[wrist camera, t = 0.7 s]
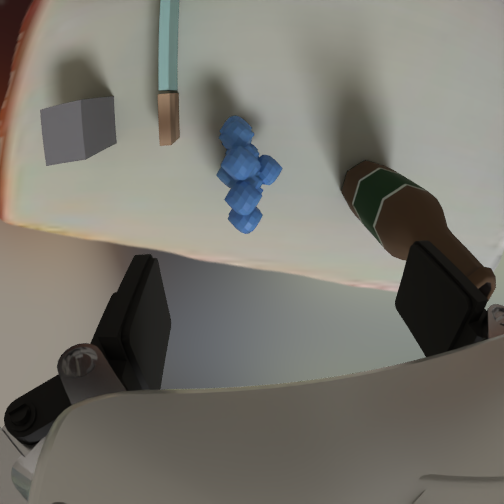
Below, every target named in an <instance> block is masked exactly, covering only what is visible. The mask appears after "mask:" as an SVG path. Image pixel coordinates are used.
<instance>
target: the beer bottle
mask: <svg viewBox="0 0 504 504" xmlns="http://www.w3.org/2000/svg"><path fill="white" fill-rule="evenodd" d="M342 194H343V196H344V198H345V200H346V201H347V203H348V205H349V207H350V209H351V210H352V212H353V213H354V214H355V216H356V217H357V218H358V219H359V220H360V221H361V222H362V223H363V224H364V226H365V227H366V228H367V229H368V230H369V231H370V232H371V234H372V235H373V236H374V237H375V238H376V239H377V240H378V242H379V243H380V244H381V245H382V246H383V247H384V249H385V250H387V251H388V252H389V253H390V254H391V255H392V256H394V257H396V258H399V259H402V260H406V261H407V257H408V253H409V249H410V246H411V245H413V243H414V242H415V241H425V240H428V241H430V242H431V243H432V244H433V245H434V246H435V247H436V248H438V249H439V250H440V251H441V252H442V253H443V254H444V255H445V256H446V257H447V258H448V259H449V260H450V261H451V262H452V263H453V264H454V265H455V266H456V267H457V268H458V269H459V270H460V271H461V272H462V273H463V274H464V275H465V276H466V277H467V278H468V279H469V280H470V281H471V282H472V283H473V284H474V285H475V286H476V287H477V288H478V289H479V290H480V291H481V292H482V293H483V294H484V296H485V297H486V298H487V299H488V300H489V299H490V297H491V295H492V293H493V292H494V290H495V288H496V279H495V275H494V273H493V271H492V269H491V268H487V267H484V266H483V265H482V264H481V263H480V262H479V261H478V260H477V259H476V258H475V257H474V256H473V255H472V253H471V252H470V251H469V250H468V249H467V248H466V247H465V246H464V245H463V244H462V243H461V242H460V241H459V240H458V239H457V238H456V237H455V236H454V235H453V234H452V232H451V231H450V230H449V228H448V227H447V223H446V220H445V216H444V212H443V209H442V207H441V205H440V203H439V202H438V200H437V199H436V198H435V197H434V196H433V195H432V194H431V193H429V192H428V191H427V190H425V189H423V188H422V187H420V186H419V185H417V184H415V183H414V182H412V181H411V180H409V179H407V178H406V177H404V176H402V175H401V174H399V173H397V172H396V171H394V170H392V169H390V168H388V167H386V166H384V165H380V164H377V163H374V162H370V161H366V160H365V161H363V162H361V163H360V164H358V165H357V166H355V167H353V168H352V169H350V170H349V171H347V174H346V178H345V181H344V185H343V188H342ZM487 302H488V301H487Z"/></svg>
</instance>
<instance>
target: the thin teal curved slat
mask: <svg viewBox="0 0 504 504" xmlns="http://www.w3.org/2000/svg"><path fill="white" fill-rule="evenodd" d="M178 16H179V0H161V2H160V21H159V91H173V90H177V53H178Z"/></svg>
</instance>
